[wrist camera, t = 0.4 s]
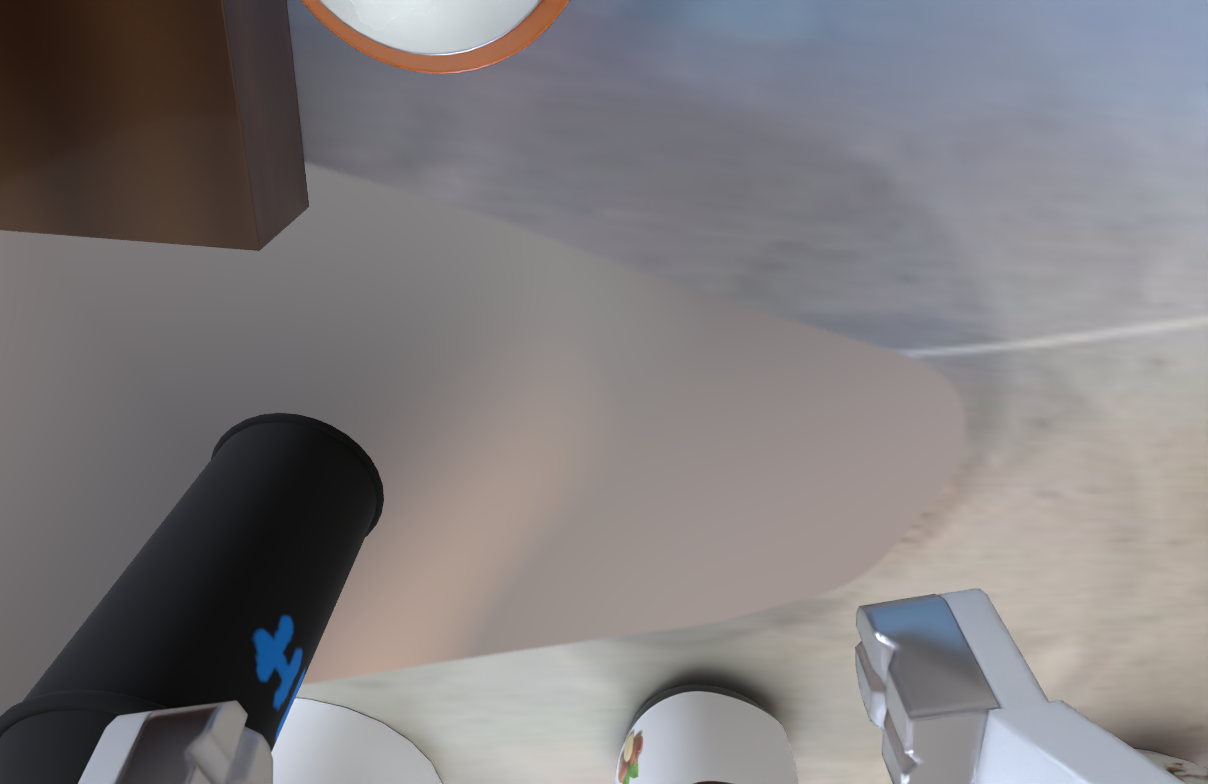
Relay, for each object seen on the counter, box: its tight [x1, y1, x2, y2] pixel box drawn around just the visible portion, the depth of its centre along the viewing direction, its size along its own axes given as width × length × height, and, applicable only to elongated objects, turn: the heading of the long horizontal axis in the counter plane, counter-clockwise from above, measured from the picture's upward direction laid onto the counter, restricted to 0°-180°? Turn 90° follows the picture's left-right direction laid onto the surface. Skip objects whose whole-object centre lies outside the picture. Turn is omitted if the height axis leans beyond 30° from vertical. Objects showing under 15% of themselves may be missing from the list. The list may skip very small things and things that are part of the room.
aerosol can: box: [0, 413, 384, 784], centre depth 30 cm, size 8×8×20 cm
